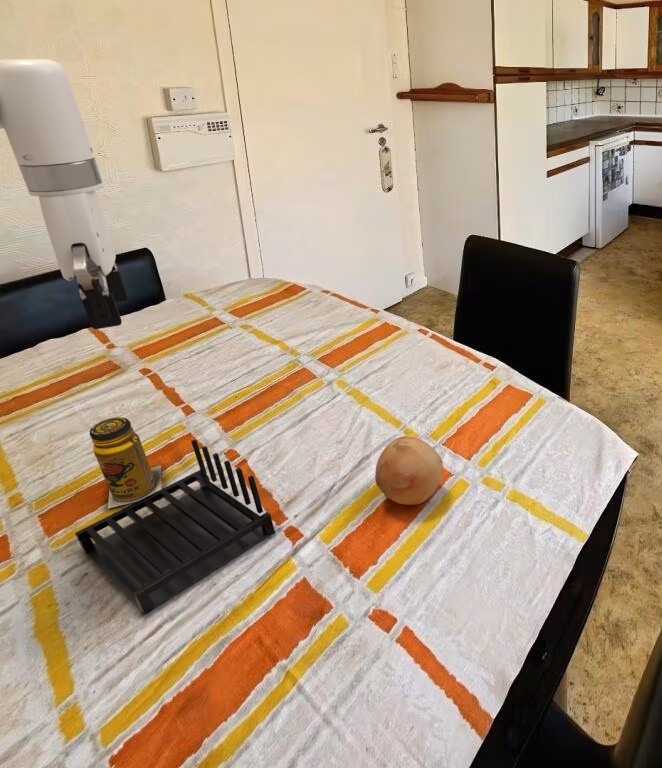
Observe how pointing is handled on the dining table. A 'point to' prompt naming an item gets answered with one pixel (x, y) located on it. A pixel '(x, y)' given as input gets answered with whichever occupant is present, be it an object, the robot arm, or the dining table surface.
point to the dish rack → (178, 535)
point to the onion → (408, 471)
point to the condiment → (123, 462)
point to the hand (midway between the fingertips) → (111, 313)
